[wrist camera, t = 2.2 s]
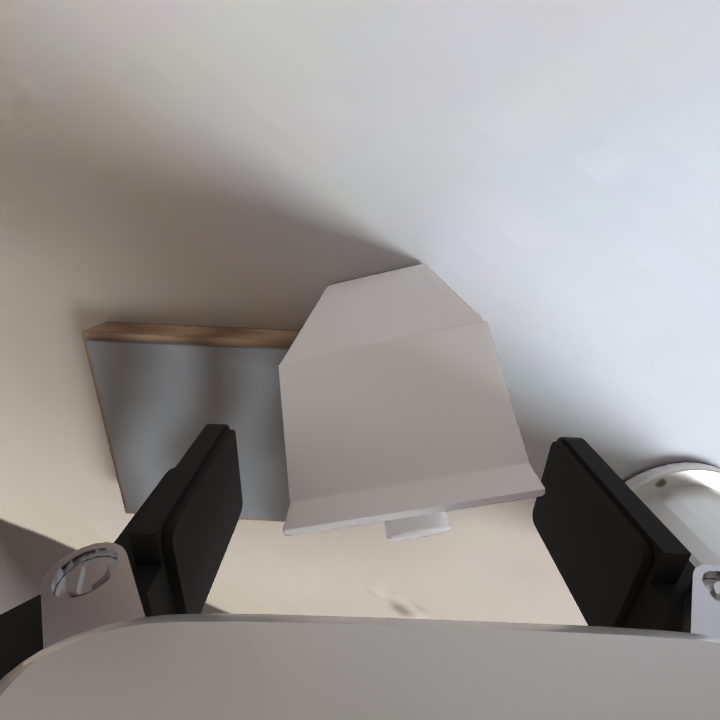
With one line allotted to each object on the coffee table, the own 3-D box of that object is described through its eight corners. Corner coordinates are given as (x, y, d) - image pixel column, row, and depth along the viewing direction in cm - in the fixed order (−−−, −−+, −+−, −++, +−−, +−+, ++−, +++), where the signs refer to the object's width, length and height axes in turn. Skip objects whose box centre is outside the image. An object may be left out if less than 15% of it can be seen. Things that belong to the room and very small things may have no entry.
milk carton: (326, 285, 27) (239, 425, 9) (425, 262, 26) (537, 367, 8) (350, 374, 29) (317, 619, 12) (440, 355, 29) (553, 588, 11)
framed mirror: (318, 331, 28) (312, 344, 25) (318, 500, 34) (313, 526, 31) (106, 321, 28) (77, 333, 26) (143, 491, 34) (122, 516, 31)
